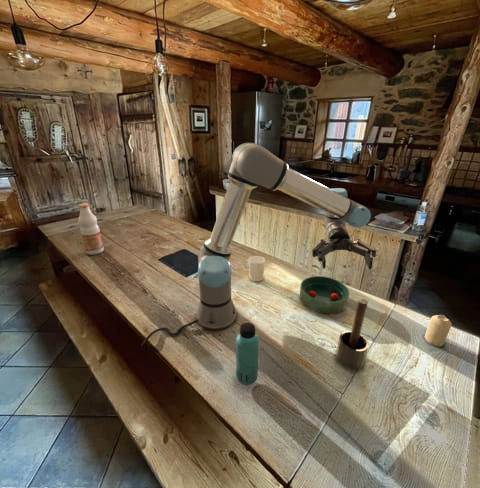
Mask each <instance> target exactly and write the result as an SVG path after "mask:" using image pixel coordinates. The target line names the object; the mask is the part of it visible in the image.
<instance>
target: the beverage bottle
mask: <svg viewBox="0 0 480 488" xmlns="http://www.w3.org/2000/svg"><path fill="white" fill-rule="evenodd" d="M239 328H240V329H239V333H238V334H237V336H236V338H235V344H236V345H235V376H236V380H237V381H238V382H239V383H240V385H243V386H251V385H253V384H255V383H256V381H257V380H258V377H259V376H258V374H259V343H260V338H259V336H258V335H257V334H256V326H255V325H254V324H253V323H252V322H243V323H242V324H240V327H239Z"/></svg>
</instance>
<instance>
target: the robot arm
mask: <svg viewBox="0 0 480 488" xmlns="http://www.w3.org/2000/svg"><path fill="white" fill-rule="evenodd" d="M227 178H228V180H229V183H228V186H227V189H226V192H225V194H224V196H223V199H222V203H221V205H220V207H219V212H218V215H217V217H216V220H215V223H214V226H213V229H212V232H211V234H210V237H209V238H207V239H206V240H204V243H203V246H202V247H201V248H200V250H199V252H198V255H197V263H198V266H197V278H198V289H199V303H198V306H197V309H196V314H195V317H196V319H195V320H193V321H191V322H189V323H186V324H184V325H182V326H180V327H179V328H178V329H177V331H176V332H172V331H171V330H170V329H169V328H168V327H165V326H164V327H159V328H157V329H154V330H153V331H151V332H150V333H149V334H148V335H147V336H146V337H145V339H144V340H143V341H142V343H141V346H142V347H143V346H145V345H146V343H147V342H148V341H149V339H150V338H151V337H152V336H153V335H154V334H155V333H157V332H160V331H166V332H167V333H168V334H169V335H170V336H172V337H175V336H177V335H179V334H180V333H181V331H182V330H183V329H185V328H187V327H189V326H191V325H194V324H196V323H198V325H199V326H201V327H202V328H204V329H207V330H211V331H221V330H224V329H227V328H229V327H230V326H231V325H233V324H234V323H235V322H236V319H237V310H236V306H235V304H234V302H233V299H232V272H233V271H232V266H231V263H230V262H229V261H230V258H231V255H232V253H233V248H232V246H231V245H232V242H233V240H234V237H235V235H236V232H237V229H238V227H239V224H240V222H241V219H242V216H243V214H244V211H245V208H246V206H247V204H248V200H249V199H250V195H251V192H252V190H254V189H256V188H258V186H261V187H263V188H266V189H268V190H271V191H273V192H275V191H277V190H278V191H281V192H282V193H284V194H287V195H289V196H290V197H293V198H295V199H297V200H299V201H301V202H303V203H305V204H307V205H310V206H312V207H314V208H316V209H318V210H320V211H322V212H324V213H325V221H324V228H325V230H326V234H327V239H328V241H327V240H325V239H323V238H322V239H320V241H319V242H318V244H317V245H315V247H314V248H313V249H312V251H311V252H312V253H311V254H312V257H313V258H316V257H317V260H318V262H321V266H322V269H324V270H325V269H326V266H327V265H326V263H327V261H326V255H328V254H330V253H334V252H335V251H347V252H350V253H354V254H357V255H359V256H362V257H363V258H364V261H365V264H366V266H367V268H368V269H369V270H372V268H373V261H374V258H376V257H377V249H376V248H374V247H372V246H370V245H369V244H367V243H365V242H363V241H362V239H361V238H356V240H352V239H351V237H350V234H349V231H348V228H347V226H346V223H347V224H348V225H349V226H351V227H353V228H356V229H358V228H360V229H361V228H363V227H365V226H366V225H368V223H369V222H370V220H371V217H372V214H371V211H370V209H369V208H367V207H366V206H365V205H362V204H361V203H358V202H356V201H354V200H352V199H350V198H348V191H347V189H345V188H340V187H336V188H329V187H327V186H325V185H323V184H322V183H320V182H317V181H315V180H313V179H312V178H310V177H308V176H306V175H304V174H302V173H300V172H298V171H296V170H294V169H292V168H290V167H289V164H288V162H286V161H284V160H282V159H281V158H279V157H277V156H276V155H274V153H272V152H271V151H269V150H268V149H266V148H265V147H264V146H261V145H259V144H257V143H254V142H244V143H242V144H239V145H238V146H237V147H236V148H235V149H234V151H233V152H232V155H231V164H230V167H229V170H228V173H227Z"/></svg>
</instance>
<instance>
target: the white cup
mask: <svg viewBox="0 0 480 488" xmlns="http://www.w3.org/2000/svg"><path fill="white" fill-rule="evenodd" d="M247 262H248V277H249V280H250V281H251V282H260V281H263V280H264V274H265V268H266V267H265V266H266V259H265V258H264V257H263V256H260V255H252V256H249V257H248V261H247Z"/></svg>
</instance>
